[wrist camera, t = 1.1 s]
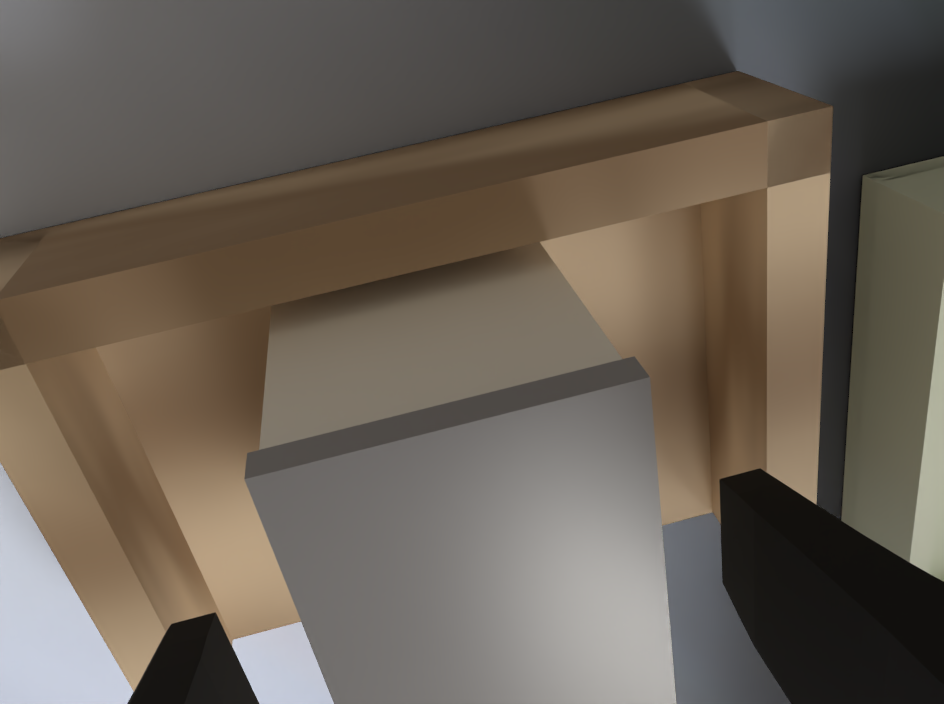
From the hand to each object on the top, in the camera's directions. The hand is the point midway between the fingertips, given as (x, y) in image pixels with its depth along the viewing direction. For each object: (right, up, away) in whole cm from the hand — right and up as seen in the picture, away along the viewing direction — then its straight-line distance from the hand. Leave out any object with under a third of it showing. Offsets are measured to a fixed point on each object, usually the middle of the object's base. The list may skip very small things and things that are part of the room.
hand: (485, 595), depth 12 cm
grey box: (-1, +2, +4) cm, 5 cm away
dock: (-1, +3, +5) cm, 6 cm away
